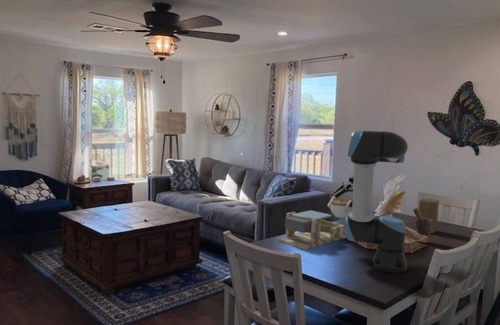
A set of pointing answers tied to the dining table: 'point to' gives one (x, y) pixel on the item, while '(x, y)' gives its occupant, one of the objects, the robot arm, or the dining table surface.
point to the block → (429, 211)
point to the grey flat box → (303, 220)
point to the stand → (314, 234)
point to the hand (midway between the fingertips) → (337, 209)
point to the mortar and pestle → (422, 224)
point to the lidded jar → (339, 208)
